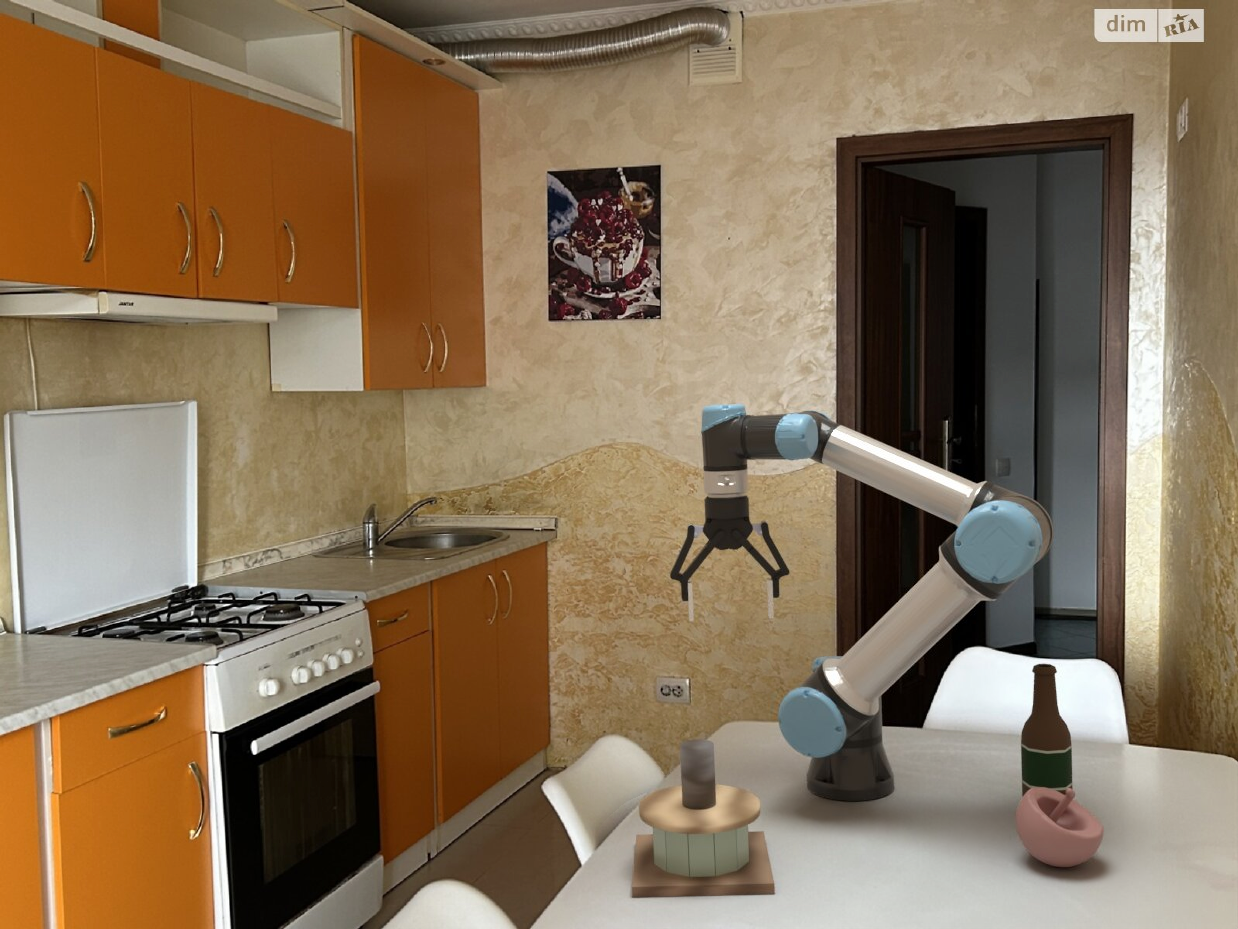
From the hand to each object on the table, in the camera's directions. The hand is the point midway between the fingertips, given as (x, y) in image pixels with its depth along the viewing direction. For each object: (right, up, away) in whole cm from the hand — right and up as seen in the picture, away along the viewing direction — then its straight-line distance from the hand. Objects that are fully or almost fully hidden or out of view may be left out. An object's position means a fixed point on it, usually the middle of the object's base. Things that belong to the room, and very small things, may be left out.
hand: (731, 618), depth 206 cm
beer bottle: (+51, -30, -9) cm, 60 cm away
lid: (-7, -25, -27) cm, 38 cm away
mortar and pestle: (+45, -32, -31) cm, 63 cm away
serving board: (-7, -34, -27) cm, 44 cm away
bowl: (-7, -32, -27) cm, 42 cm away
